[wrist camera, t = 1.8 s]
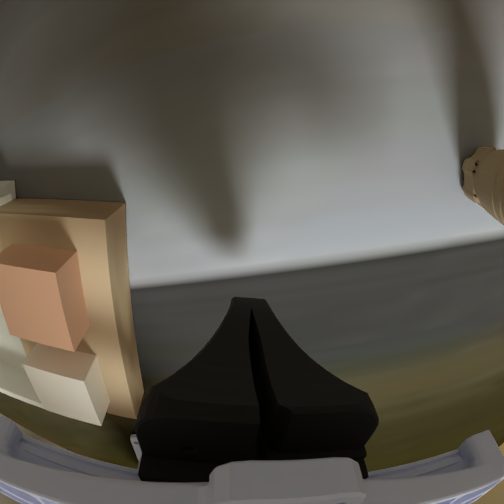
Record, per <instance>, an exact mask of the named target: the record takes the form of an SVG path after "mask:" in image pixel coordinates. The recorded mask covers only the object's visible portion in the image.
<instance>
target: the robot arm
mask: <svg viewBox="0 0 504 504" xmlns="http://www.w3.org/2000/svg"><path fill="white" fill-rule="evenodd" d="M378 422H379V418H378V415H377V413H376V410H375V407H374V405H373V403H372V401H371V399H370V397H369V395H368V393H366V392H364V391H362V390H360V389H357V388H355V387H353V386H351V385H349V384H347V383H346V382H344V381H342V380H341V379H339V378H337V377H336V376H334V375H333V374H331V373H330V372H328V371H327V370H325V369H324V368H323V367H321V366H320V365H319V364H317V363H316V362H315V361H314V360H313V359H311V358H310V357H309V356H308V355H307V354H306V353H305V352H304V351H303V350H302V349H301V348H300V347H299V346H298V345H297V344H296V343H295V342H294V340H293V339H292V338H291V337H290V336H289V334H288V333H287V332H286V331H285V329H284V328H283V326H282V325H281V324H280V322H279V321H278V319H277V318H276V316H275V315H274V313H273V312H272V310H271V308H270V307H269V305H268V303H267V301H266V300H265V299H256V298H243V297H234V298H232V300H231V305H230V307H229V310H228V312H227V314H226V316H225V318H224V320H223V321H222V323H221V325H220V326H219V328H218V329H217V331H216V332H215V334H214V335H213V337H212V338H211V339H210V340H209V342H208V343H207V344H206V345H205V346H204V348H203V349H202V350H201V351H200V352H199V353H198V354H197V355H196V356H195V357H194V358H193V359H192V360H191V361H189V362H188V363H187V364H186V365H185V366H183V367H182V368H181V369H179V370H178V371H177V372H176V373H174V374H173V375H171V376H170V377H168V378H167V379H165V380H163V381H161V382H160V383H158V384H156V385H155V386H153V387H152V388H151V389H150V391H149V393H148V394H147V396H146V398H145V400H144V402H143V404H142V406H141V409H140V411H139V414H138V418H137V422H136V426H135V434H132V435H131V437H130V440H131V443H132V445H133V448H134V451H135V454H136V456H137V459H138V461H139V464H138V469H133V468H128V467H123V466H119V465H115V464H111V463H107V462H103V461H99V460H95V459H92V458H88V457H85V456H81V455H78V454H75V453H72V452H69V451H65V450H63V449H60V448H57V447H54V446H51V445H48V444H46V443H43V442H41V441H38V440H35V439H33V438H31V437H28V436H26V435H23V434H22V432H21V430H20V428H19V427H18V426H17V424H16V423H14V422H13V421H12V420H10V419H9V418H7V417H5V416H2V415H0V492H1V493H3V494H4V495H6V496H8V497H10V498H12V499H14V500H15V501H17V502H19V503H21V504H470V503H472V502H474V501H476V500H477V499H478V498H480V497H481V496H483V495H484V494H485V493H486V492H488V491H489V490H490V489H492V488H493V487H494V486H495V485H497V484H498V483H499V482H500V481H502V480H503V479H504V456H503V455H502V453H501V451H500V449H499V447H498V445H497V443H496V441H495V440H494V438H493V436H492V434H491V432H490V431H489V430H486V431H484V432H481V433H478V434H476V435H473V436H471V437H469V438H468V439H466V440H465V441H464V442H463V443H462V444H461V445H460V447H459V448H458V449H456V450H453V451H450V452H447V453H444V454H441V455H438V456H434V457H431V458H428V459H424V460H420V461H417V462H413V463H409V464H405V465H401V466H396V467H392V468H387V469H382V470H377V471H372V472H367V468H366V465H365V461H364V458H365V457H366V454H367V453H366V450H365V447H364V445H365V444H366V442H367V441H368V440H369V438H370V437H371V436H372V434H373V433H374V431H375V430H376V428H377V426H378Z"/></svg>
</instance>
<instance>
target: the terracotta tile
mask: <svg viewBox="0 0 504 504" xmlns="http://www.w3.org/2000/svg"><path fill="white" fill-rule="evenodd" d="M0 306H1V309H2V312H3V315H4V318H5V321H6V324H7V327H8V330H9V332H10V335H13V336H16V337H19V338H23V339H26V340H30V341H33V342H37V343H40V344H44V345H48V346H52V347H56V348H60V349H64V350H68V351H73V352H75V350H76V348H77V347H78V345H79V343H80V341H81V340H82V338H83V336H84V335H85V333H86V331H87V329H88V328H89V326H90V324H89V320H88V315H87V310H86V305H85V299H84V294H83V288H82V282H81V275H80V268H79V261H78V253H77V251H72V250H63V249H54V248H45V247H37V246H28V245H20V244H11V245H10V246H8V247H7V248H5V249H4V250H3V251H2V252H0Z"/></svg>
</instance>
